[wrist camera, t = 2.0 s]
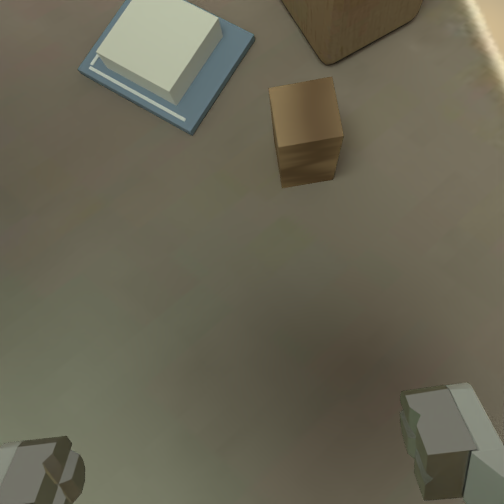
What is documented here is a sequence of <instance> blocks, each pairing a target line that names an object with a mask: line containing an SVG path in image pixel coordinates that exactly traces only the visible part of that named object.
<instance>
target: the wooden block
mask: <svg viewBox="0 0 504 504" xmlns="http://www.w3.org/2000/svg"><path fill="white" fill-rule="evenodd" d="M422 1H423V0H282V2H283V3H284V5H285V6H286V8H287V9H288V11H289V12H290V14H291V15H292V17H293V18H294V20H295V22H296V23H297V25H298V26H299V28H300V29H301V31H302V32H303V34H304V35H305V37H306V38H307V40H308V41H309V43H310V45H311V46H312V48H313V49H314V51H315V52H316V54H317V55H318V57H319V58H320V60H321V61H322V62H323V63H325V64H326V65H329V64H333V63H335V62H337V61H339V60H341V59H342V58H344V57H346V56H348V55H350V54H351V53H353V52H355V51H357V50H359V49H360V48H362V47H364V46H366V45H368V44H369V43H371V42H373V41H375V40H377V39H379V38H380V37H382V36H384V35H386V34H388V33H389V32H391V31H393V30H395V29H397V28H398V27H400V26H402V25H404V24H406V23H407V22H409V21H411V20H412V19H413V18H414V17H415V16H416V14H417V13H418V12H419V9H420V6H421V4H422Z"/></svg>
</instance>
